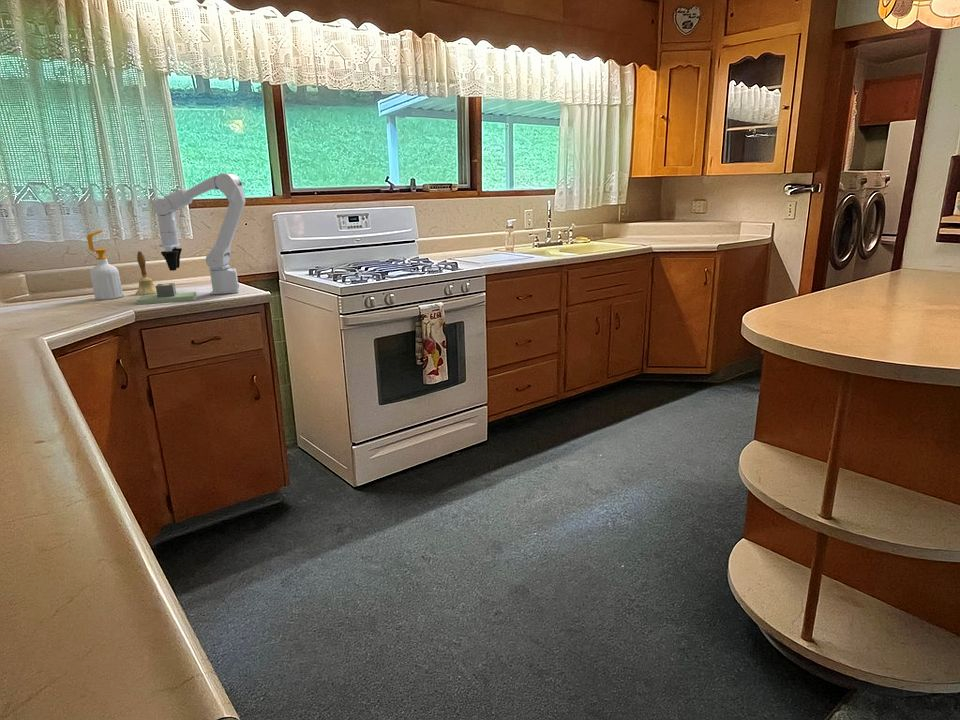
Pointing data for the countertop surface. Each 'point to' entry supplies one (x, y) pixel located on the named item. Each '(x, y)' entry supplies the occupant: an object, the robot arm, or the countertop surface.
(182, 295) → the post board
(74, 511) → the countertop surface
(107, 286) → the soap bottle
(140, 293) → the hand bell
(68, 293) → the countertop surface
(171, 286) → the collar
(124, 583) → the countertop surface
